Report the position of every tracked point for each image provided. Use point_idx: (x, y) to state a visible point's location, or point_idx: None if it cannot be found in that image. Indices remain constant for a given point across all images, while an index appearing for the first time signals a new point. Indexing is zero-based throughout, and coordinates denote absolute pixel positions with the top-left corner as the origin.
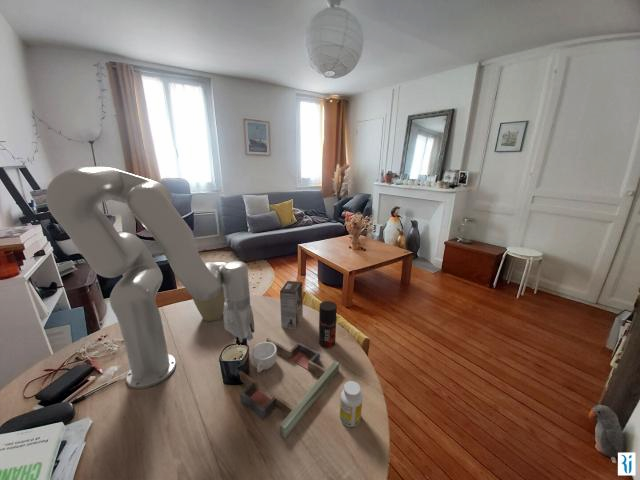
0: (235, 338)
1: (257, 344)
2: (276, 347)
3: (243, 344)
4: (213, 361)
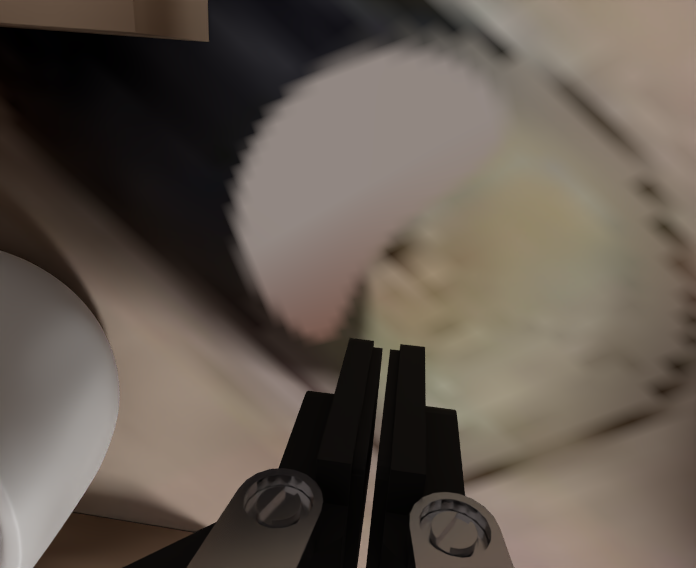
0: (462, 522)
1: (14, 542)
2: (41, 564)
3: (287, 460)
4: (665, 25)
